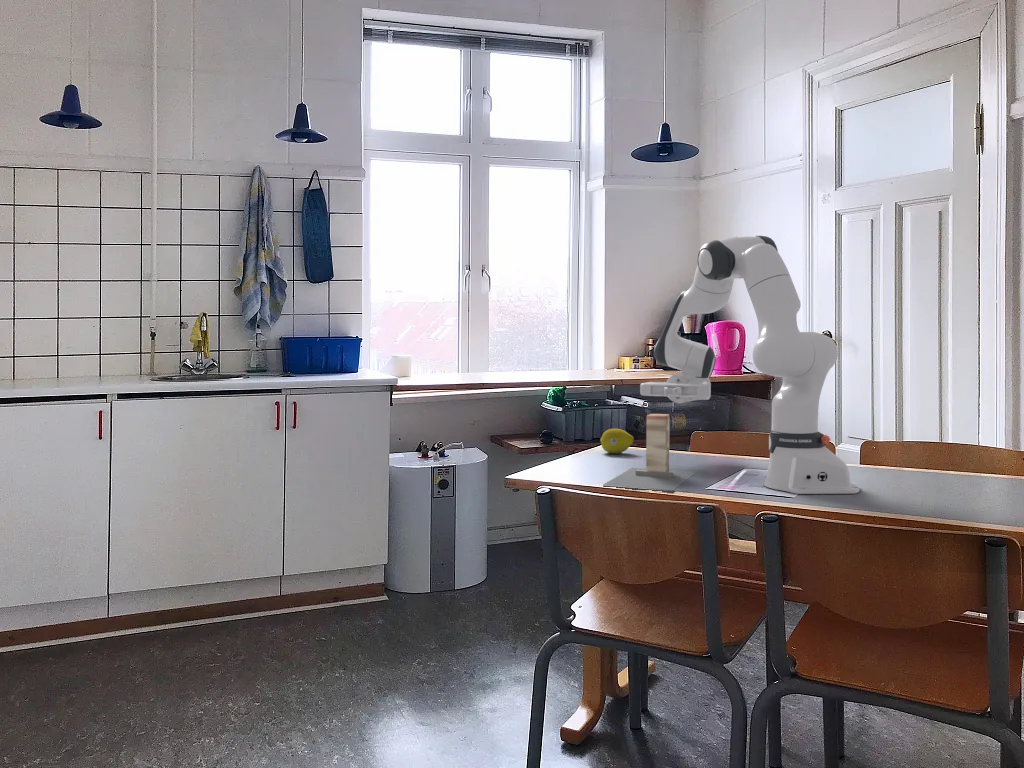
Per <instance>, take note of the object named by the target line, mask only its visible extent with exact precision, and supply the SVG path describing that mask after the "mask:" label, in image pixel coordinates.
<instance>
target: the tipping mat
mask: <svg viewBox="0 0 1024 768" xmlns="http://www.w3.org/2000/svg"><path fill="white" fill-rule="evenodd" d="M696 473H697V472H696V471H686V470H685V471H684V470H674V469H673V470H672V469H671V470H670V469H669V472H659V471H646V467H645V468H642V467H631V468H629V469H628V470H626V471H624V472H622V473H621V474H618V475H616V476H615V477H614V478H612V479H611V480H609V481H607V482H606V483H604V484H602V488H603V487H616V488H625V489H632V490H631V491H636V490H652V491H662V492H667V493H666V494H675V493H674V492H677V490H676V489H677V488H678V487H679V486H681V485H683V483H685V482H686V481H687V480H689V479H690V477H692V476H693V475H695V474H696Z"/></svg>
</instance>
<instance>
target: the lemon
mask: <svg viewBox="0 0 1024 768" xmlns="http://www.w3.org/2000/svg"><path fill="white" fill-rule="evenodd" d="M599 441H600V444H601V447H602V449H603V450H604V451H605V452H607V453H608V454H613V455H617V454H618V455H619V454H622V453H623V452H625V451H627V450H628V449H629V448H630V446H632V445H633V443H634V436H633V435H631V434H630V433H628V432H627V431H626V430H623V429H620V428H610V429H607V430H605V431H604V432H603V433H602V436H601V437H600V440H599Z"/></svg>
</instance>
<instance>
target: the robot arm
mask: <svg viewBox="0 0 1024 768" xmlns="http://www.w3.org/2000/svg"><path fill="white" fill-rule="evenodd" d="M735 279H743V282H744V284H745V286H746V287H745V288H746V290H747V293H748V295H749V298H750V301H751V304H752V306H753V310H754V313H755V315H756V319H757V326H758V327H757V329H758V337H757V341H756V343H755V344H754V347H753V350H752V361H753V364H754V365H755V368H756V369H757V370H758V371H759V372H760V373H762V374H764V375H767V376H771V377H775V378H783V380H782V383H781V386H780V389H779V390H778V392H777V393H776V394H775V395H774V396H773V398H772V400H771V429H770V430H769V435H768V450H769V460H768V466H767V470H766V471H767V472H766V476H765V478H764V482H763V486H764V487H766V488H770V489H771V490H773V489H774V490H777V491H782V492H783V491H784V492H787V493H791V494H797V495H801V494H802V495H805V494H806V495H809V494H810V495H812V494H813V495H818V494H820V495H824V494H825V495H826V494H827V495H828V494H829V495H830V494H837V495H838V494H842V495H843V494H858V493H859V492H860V486H859V484H858V483H857V482H854V481H852V480H851V477H850V471H849V467H848V465H847V463H845V461H843V459H841V458H840V457H839V456H837V455H836V454H835V453H834V452H832V451H831V450H830V449H829V448H827V447H826V445H828V444H830V443H831V437H830V436H828V435H827V434H823V433H822V432H820V431H819V429H818V426H819V409H820V408H819V407H820V398H821V392H822V390H823V386H824V383H825V381H826V378H827V375H828V373H829V371H830V370H831V368H833V367H834V365H835V363H836V362H837V360H838V356H839V355H838V354H839V352H838V351H839V350H838V347H837V344H836V343H835V341H834V340H833V338H831V337H830V336H828V335H825V334H822V333H819V332H816V331H800V330H799V326H798V322H797V314H798V312H799V311H800V310H801V307H802V305H801V300H800V297H799V294H798V292H797V290H796V287H795V284H794V282H793V278H792V277H791V274H790V272H789V270H788V267H787V265H786V264H785V261H784V260H783V258H782V256H781V255H780V253H779V250H778V246H777V245H776V242H775V241H774V240H773V239H772V238H771V237H769V236H764V235H754V236H734V237H733V236H732V237H728V238H723V239H719V240H717V239H716V240H712V241H709V242H706V243H704V244H703V245H702V246H701V247H700V249H699V251H698V254H697V266H696V269H695V273H694V276H693V281H692V283H691V285H690V287H689V289H686V290H683V291H681V292H680V294H679V295H678V297H677V298H676V300H675V302H674V304H673V306H672V308H671V311H670V313H669V315H668V318H667V320H666V323H665V325H664V328H663V330H662V332H661V335H660V336H659V338H658V340H657V342H655V343H656V344H655V345H654V347H653V348H654V350H653V357H654V359H655V361H656V362H657V364H658V365H659V366H663V367H668V368H672V369H675V370H676V369H677V370H679V371H681V372H678V373H675V374H672V375H670V376H669V378H668V379H667V380H666V381H663V382H662V381H647V382H642V383H640V386H639V389H640V390H639V392H640V393H639V395H641V396H644V397H667V398H668V399H669V400H670V401H672V402H673V403H676V404H683V403H689V402H692V401H695V402H696V401H708V400H710V398H711V396H712V395H711V394H712V393H711V391H712V390H711V389H712V388H711V387H712V383H711V377H712V374H713V372H714V369H715V366H716V355H715V352H714V349H713V348H712V347H711V346H709V345H706V344H703V343H700V342H697V341H693V340H690V339H688V338H687V339H686V338H684V337H682V336H680V335H679V334H678V332H679V329H680V328H681V325H682V322H683V320H684V318H685V317H686V316H690V315H707V314H712V313H716V312H718V311H720V310H722V309H723V308H724V307H725V306H726V305H727V303H728V301H729V299H730V297H731V294H732V290H733V286H734V280H735Z"/></svg>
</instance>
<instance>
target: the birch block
mask: <svg viewBox="0 0 1024 768" xmlns="http://www.w3.org/2000/svg"><path fill="white" fill-rule="evenodd" d="M645 419H646V429H645V430H646V431H645V433H646V434H645V435H646V439H645V440H646V441H645V443H646V446H645V447H646V450H645V451H646V455H645V457H646V459H645V461H646V462H645V464H646V465H645V469H646V471H659V472H669V470H670V414H669V413H667V414H666V413H664V414H663V413H649V414H647V415H646V418H645Z"/></svg>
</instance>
